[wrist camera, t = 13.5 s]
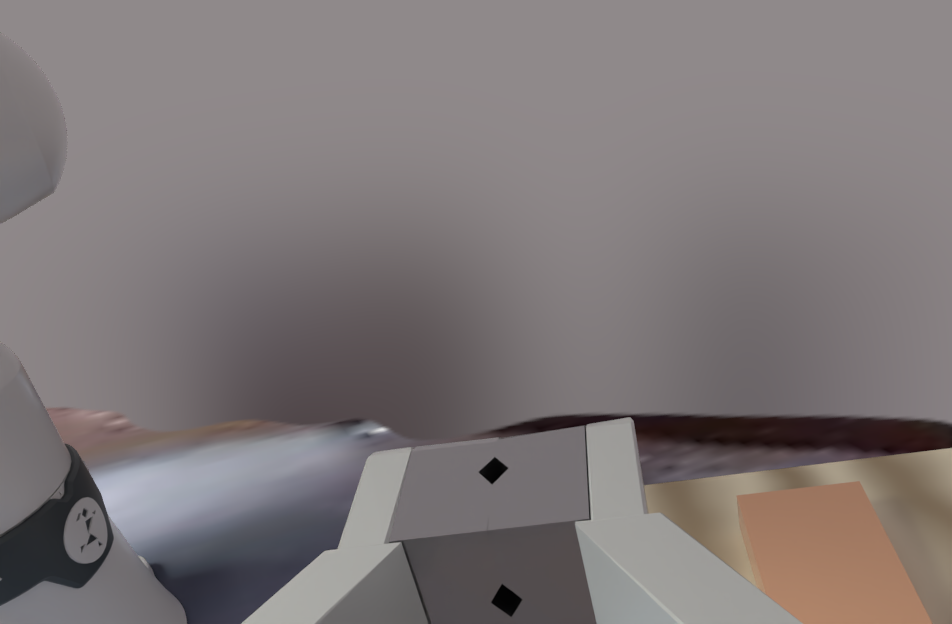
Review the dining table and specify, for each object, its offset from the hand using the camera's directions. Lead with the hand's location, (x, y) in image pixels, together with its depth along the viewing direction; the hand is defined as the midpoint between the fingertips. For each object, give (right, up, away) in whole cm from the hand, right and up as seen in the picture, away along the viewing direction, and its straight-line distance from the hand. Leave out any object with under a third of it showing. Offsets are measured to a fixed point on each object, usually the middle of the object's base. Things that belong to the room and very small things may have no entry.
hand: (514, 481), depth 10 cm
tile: (+18, -16, +28) cm, 37 cm away
